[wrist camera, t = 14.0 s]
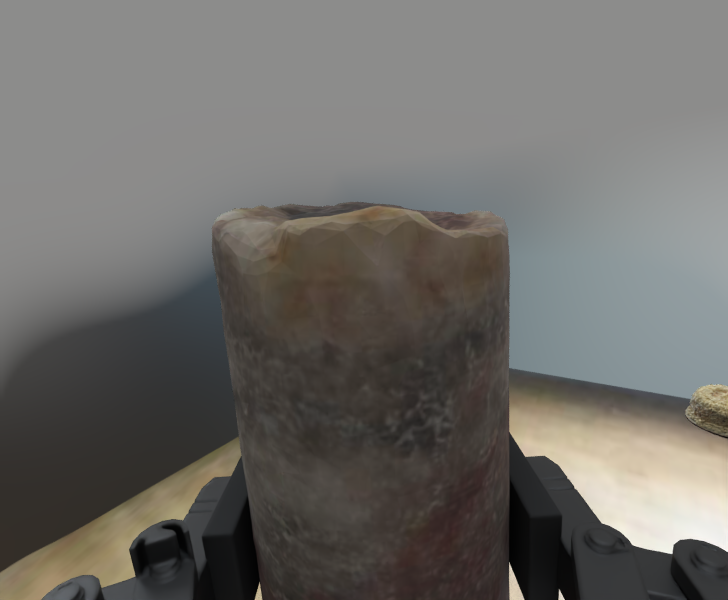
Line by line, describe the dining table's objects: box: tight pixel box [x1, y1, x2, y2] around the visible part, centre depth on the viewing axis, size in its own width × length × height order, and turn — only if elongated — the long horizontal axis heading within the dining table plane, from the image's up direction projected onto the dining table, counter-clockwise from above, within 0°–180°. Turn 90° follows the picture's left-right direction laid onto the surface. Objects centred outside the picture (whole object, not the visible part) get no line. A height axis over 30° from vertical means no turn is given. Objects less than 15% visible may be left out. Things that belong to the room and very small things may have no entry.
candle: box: [212, 202, 510, 600], centre depth 12 cm, size 8×7×20 cm
